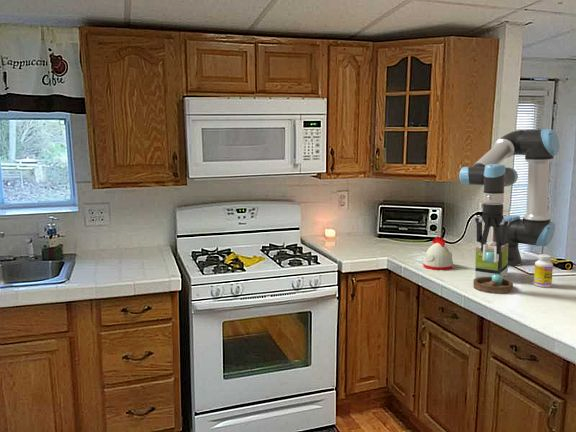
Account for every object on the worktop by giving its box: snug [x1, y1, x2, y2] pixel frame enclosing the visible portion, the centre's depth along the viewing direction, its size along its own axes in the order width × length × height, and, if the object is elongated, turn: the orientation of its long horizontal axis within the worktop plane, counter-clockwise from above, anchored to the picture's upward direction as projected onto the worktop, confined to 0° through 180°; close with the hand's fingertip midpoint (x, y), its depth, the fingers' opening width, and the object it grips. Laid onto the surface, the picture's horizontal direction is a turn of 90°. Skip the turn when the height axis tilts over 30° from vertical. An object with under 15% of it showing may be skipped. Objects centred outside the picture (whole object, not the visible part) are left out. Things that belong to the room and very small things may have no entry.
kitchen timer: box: [422, 235, 454, 271], centre depth 235 cm, size 14×14×15 cm
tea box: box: [474, 240, 509, 279], centre depth 217 cm, size 15×10×15 cm, turn 141°
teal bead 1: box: [485, 251, 495, 263], centre depth 197 cm, size 4×4×4 cm
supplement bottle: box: [533, 253, 554, 288], centre depth 203 cm, size 7×7×13 cm
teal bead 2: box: [492, 274, 502, 286], centre depth 204 cm, size 4×4×4 cm
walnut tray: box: [473, 277, 514, 295], centre depth 202 cm, size 15×15×3 cm
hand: (490, 260), depth 197 cm, fingers closed on teal bead 1, 4 cm apart
